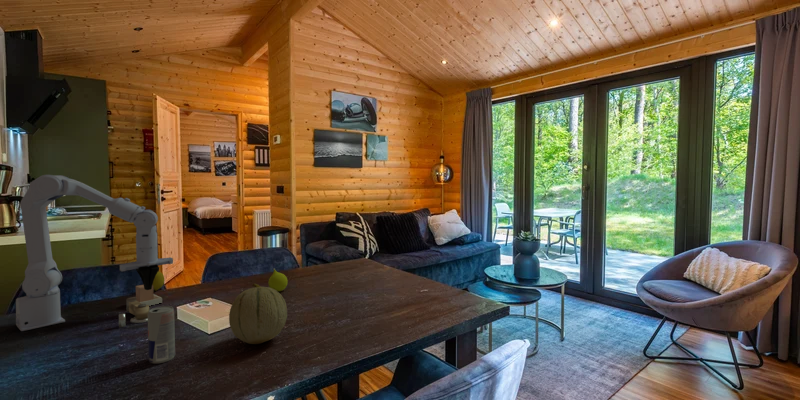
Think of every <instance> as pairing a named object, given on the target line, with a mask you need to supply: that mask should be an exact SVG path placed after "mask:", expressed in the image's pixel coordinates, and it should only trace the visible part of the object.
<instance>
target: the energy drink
mask: <svg viewBox="0 0 800 400" xmlns="http://www.w3.org/2000/svg"><path fill="white" fill-rule="evenodd" d="M175 327H176V326H175V309H174V307H173V306H171V305H161V306H156V307H153V308H149V313H148V321H147V342H148V343H147V344H148V346H147V349H148V362H149V363H150V364H163V363H166V362H169V361H171V360H172V359H174V357H175V356H176V343H175V342H176V340H175V339H176V337H175V336H176V334H175V333H176V332H175V329H176V328H175Z"/></svg>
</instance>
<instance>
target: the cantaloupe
mask: <svg viewBox="0 0 800 400" xmlns="http://www.w3.org/2000/svg"><path fill="white" fill-rule="evenodd" d="M287 317H288V307H287V303H286V300H285V298H284V297H283V295H282V294H281V293H280V291H279V292H277V291H276V290H275V289H272V288H270V287H269V286H268V287H267V286H260V285H259V284H257V283H252V287H251V288H247V289H245V290H244V291H242V292H241V293H239V294H238V295H237V296H236V297H235V299H234V300H233V302H232V304H231V305H230V309H229V313H228V323H229V327H230V329H231V331H232V334H233V335H234V336H235V337H236V338H237V339H238V340H240V341H242V342H244V343H246V344H249V345H260V344H262V343H265V342H268V341H270V340H272V339H274V338H275V337H277V336H278V335H279V334H280V333H281V332H282V330H283V329H284V327H285V325H286V323H287Z"/></svg>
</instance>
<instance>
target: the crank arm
mask: <svg viewBox="0 0 800 400" xmlns="http://www.w3.org/2000/svg"><path fill="white" fill-rule="evenodd" d="M125 300H126V312H127V313H130V314H132V315H133V316H134V317H135V318H136V319H144V318H147V317H148V313H149V310H150V307H149V305H146V304H141V303H140V302H138V301H136V296H133V297H127V298H126V299H125Z"/></svg>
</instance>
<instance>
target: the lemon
mask: <svg viewBox="0 0 800 400" xmlns="http://www.w3.org/2000/svg"><path fill="white" fill-rule="evenodd" d="M152 285H153V291H159V289H161V288H162V287H163V286H164V285H165V275H164V274H163V272H161V271H160V270H159V271H158V272H157V274H156V276H155V278H154V281H153V284H152Z"/></svg>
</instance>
